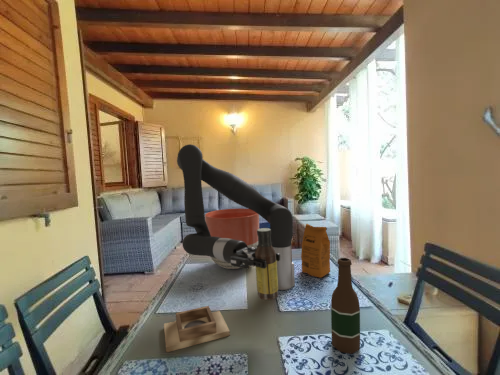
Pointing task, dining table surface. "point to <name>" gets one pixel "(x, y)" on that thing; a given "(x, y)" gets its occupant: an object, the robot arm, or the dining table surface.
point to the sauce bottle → (267, 276)
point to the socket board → (194, 328)
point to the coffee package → (315, 251)
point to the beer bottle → (345, 311)
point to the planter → (233, 228)
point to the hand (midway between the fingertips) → (272, 260)
